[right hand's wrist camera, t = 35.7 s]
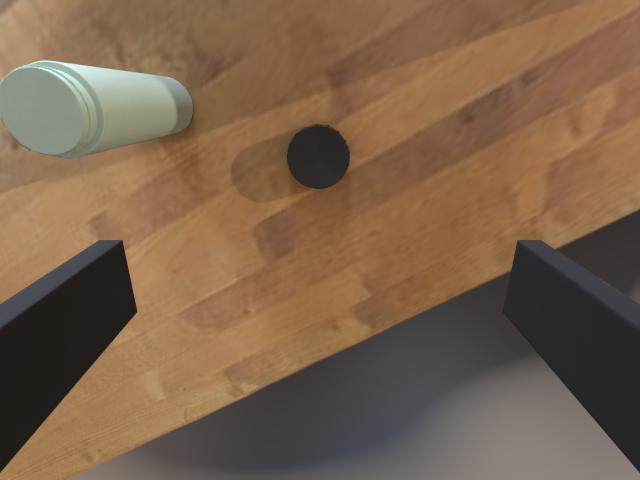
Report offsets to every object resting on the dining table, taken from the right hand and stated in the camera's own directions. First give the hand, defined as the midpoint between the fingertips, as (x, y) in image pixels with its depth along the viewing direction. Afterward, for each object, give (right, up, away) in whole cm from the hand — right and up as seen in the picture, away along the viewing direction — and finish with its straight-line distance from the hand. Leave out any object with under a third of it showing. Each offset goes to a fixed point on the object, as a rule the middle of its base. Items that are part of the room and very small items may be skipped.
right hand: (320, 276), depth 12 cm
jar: (-16, +15, +25) cm, 34 cm away
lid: (0, +10, +26) cm, 28 cm away
